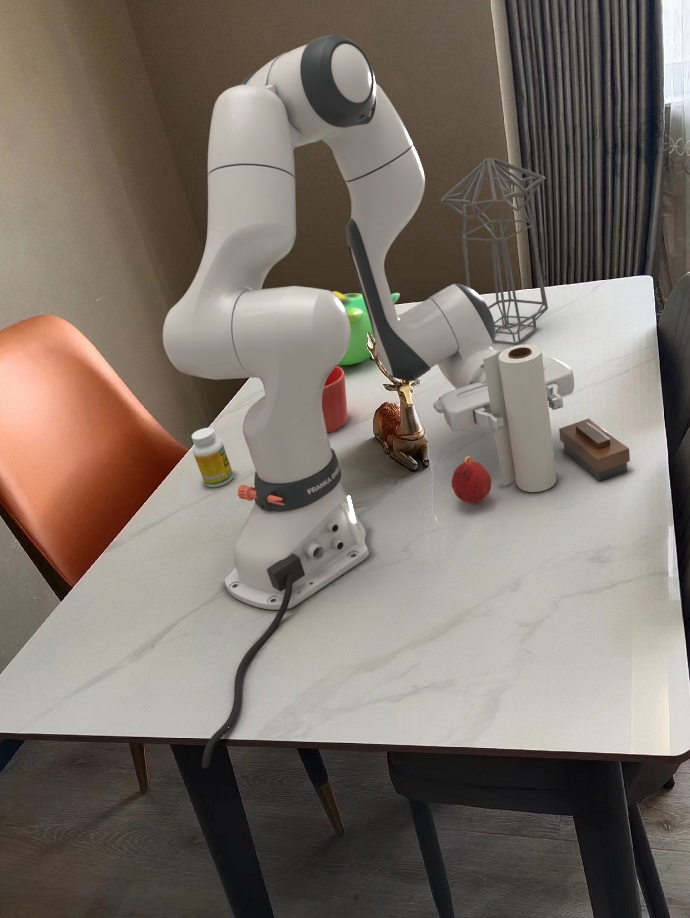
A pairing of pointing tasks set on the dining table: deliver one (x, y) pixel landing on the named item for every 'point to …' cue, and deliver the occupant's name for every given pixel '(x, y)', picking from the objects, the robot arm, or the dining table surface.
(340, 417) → the flower pot
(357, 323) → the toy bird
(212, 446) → the supplement bottle
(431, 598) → the dining table surface
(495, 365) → the paper towel roll
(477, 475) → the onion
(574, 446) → the chalkboard eraser
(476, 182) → the geometric lantern
